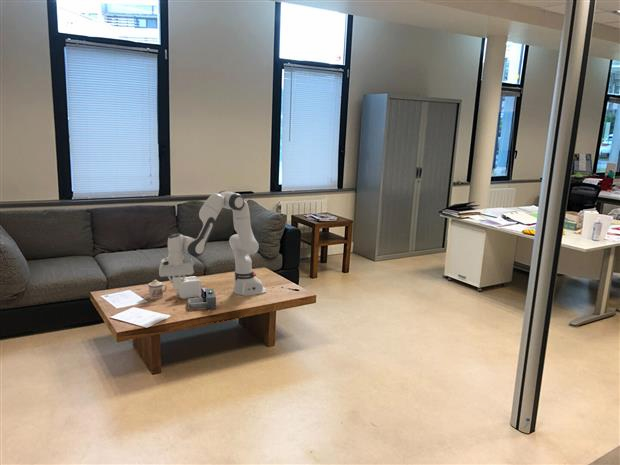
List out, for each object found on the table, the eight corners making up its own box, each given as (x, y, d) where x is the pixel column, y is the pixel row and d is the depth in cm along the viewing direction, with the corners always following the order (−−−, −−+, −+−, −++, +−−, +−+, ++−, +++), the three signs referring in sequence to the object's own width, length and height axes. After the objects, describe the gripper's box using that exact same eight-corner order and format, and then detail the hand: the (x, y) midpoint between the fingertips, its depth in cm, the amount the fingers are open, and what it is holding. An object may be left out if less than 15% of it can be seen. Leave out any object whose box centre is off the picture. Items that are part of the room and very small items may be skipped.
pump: (181, 285, 299) (180, 271, 297) (181, 288, 295) (181, 274, 293) (172, 286, 298) (172, 272, 296) (173, 288, 293) (172, 274, 291)
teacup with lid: (152, 300, 312) (151, 283, 309) (146, 296, 319) (145, 279, 316) (169, 296, 320) (169, 279, 317) (163, 292, 326) (163, 276, 324)
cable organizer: (178, 299, 315) (178, 282, 312) (174, 294, 324) (174, 277, 321) (201, 296, 322) (201, 279, 319) (197, 291, 331) (196, 275, 328)
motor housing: (213, 300, 316) (212, 286, 314) (216, 309, 302) (216, 295, 300) (187, 302, 312) (187, 288, 309) (189, 311, 297) (189, 297, 295)
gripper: (193, 257, 298) (194, 279, 301) (158, 260, 292) (159, 281, 295) (194, 260, 292) (194, 282, 296) (158, 263, 286) (159, 285, 290)
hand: (176, 282), depth 295 cm, fingers closed on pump, 5 cm apart
